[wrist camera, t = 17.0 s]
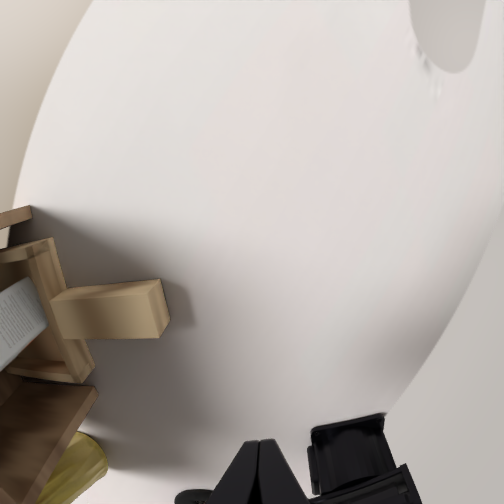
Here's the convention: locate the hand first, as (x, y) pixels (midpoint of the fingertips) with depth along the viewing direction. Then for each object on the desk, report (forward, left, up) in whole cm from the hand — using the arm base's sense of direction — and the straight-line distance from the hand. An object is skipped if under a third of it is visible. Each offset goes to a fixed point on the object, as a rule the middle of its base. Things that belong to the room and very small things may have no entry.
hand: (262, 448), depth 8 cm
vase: (+22, +17, -12) cm, 30 cm away
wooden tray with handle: (+16, 0, -13) cm, 20 cm away
